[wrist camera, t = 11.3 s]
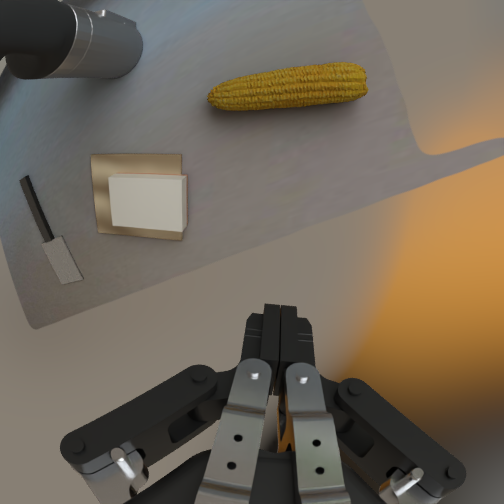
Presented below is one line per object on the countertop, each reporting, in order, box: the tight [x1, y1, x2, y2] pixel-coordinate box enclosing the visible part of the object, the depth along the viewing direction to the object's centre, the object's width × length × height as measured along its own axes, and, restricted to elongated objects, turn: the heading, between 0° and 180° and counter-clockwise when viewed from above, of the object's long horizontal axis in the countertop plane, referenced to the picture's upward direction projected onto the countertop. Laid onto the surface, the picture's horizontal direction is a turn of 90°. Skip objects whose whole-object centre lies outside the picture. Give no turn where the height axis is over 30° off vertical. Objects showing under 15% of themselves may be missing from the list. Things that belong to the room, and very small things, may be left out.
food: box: [207, 62, 369, 111], centre depth 36 cm, size 21×6×6 cm, turn 101°
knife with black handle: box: [19, 175, 84, 284], centre depth 52 cm, size 24×7×1 cm, turn 16°
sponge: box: [108, 173, 188, 232], centre depth 45 cm, size 8×3×12 cm
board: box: [91, 154, 182, 241], centre depth 47 cm, size 14×16×1 cm
